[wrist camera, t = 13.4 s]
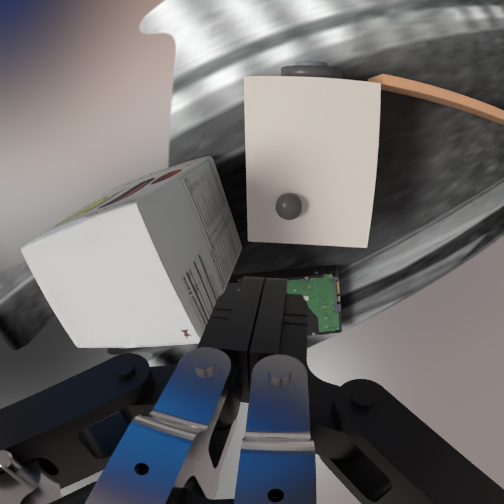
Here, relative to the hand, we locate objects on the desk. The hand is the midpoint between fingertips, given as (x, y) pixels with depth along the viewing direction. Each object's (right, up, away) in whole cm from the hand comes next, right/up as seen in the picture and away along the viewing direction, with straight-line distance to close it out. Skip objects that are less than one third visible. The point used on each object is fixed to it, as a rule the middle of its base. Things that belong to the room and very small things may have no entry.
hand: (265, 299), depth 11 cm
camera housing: (+6, +13, +23) cm, 27 cm away
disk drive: (+5, -5, +33) cm, 34 cm away
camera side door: (+23, +19, +16) cm, 34 cm away
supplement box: (-11, +6, +30) cm, 33 cm away
